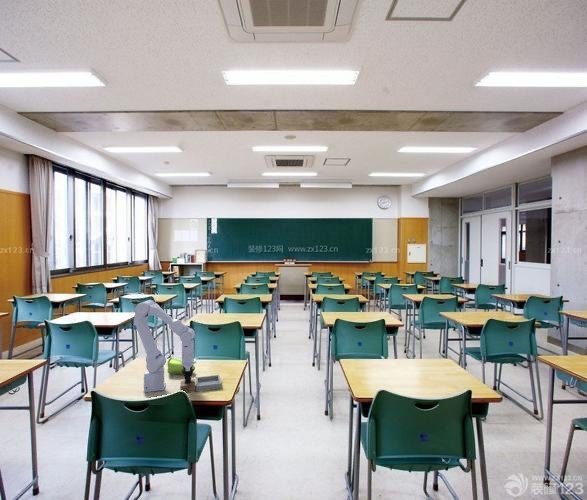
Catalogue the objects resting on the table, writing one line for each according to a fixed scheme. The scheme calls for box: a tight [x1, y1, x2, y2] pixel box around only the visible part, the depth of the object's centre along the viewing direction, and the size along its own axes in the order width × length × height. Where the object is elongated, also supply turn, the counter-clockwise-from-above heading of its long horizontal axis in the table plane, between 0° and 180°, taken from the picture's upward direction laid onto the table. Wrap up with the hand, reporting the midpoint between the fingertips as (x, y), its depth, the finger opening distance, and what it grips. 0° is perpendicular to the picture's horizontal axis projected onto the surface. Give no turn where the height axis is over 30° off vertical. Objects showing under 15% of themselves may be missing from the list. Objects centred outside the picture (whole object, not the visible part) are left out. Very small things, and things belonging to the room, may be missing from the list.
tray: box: [195, 374, 222, 392], centre depth 172 cm, size 12×12×2 cm
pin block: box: [179, 378, 196, 392], centre depth 168 cm, size 7×7×3 cm
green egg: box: [167, 357, 196, 375], centre depth 189 cm, size 8×12×20 cm
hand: (187, 380), depth 168 cm, fingers open, 6 cm apart
